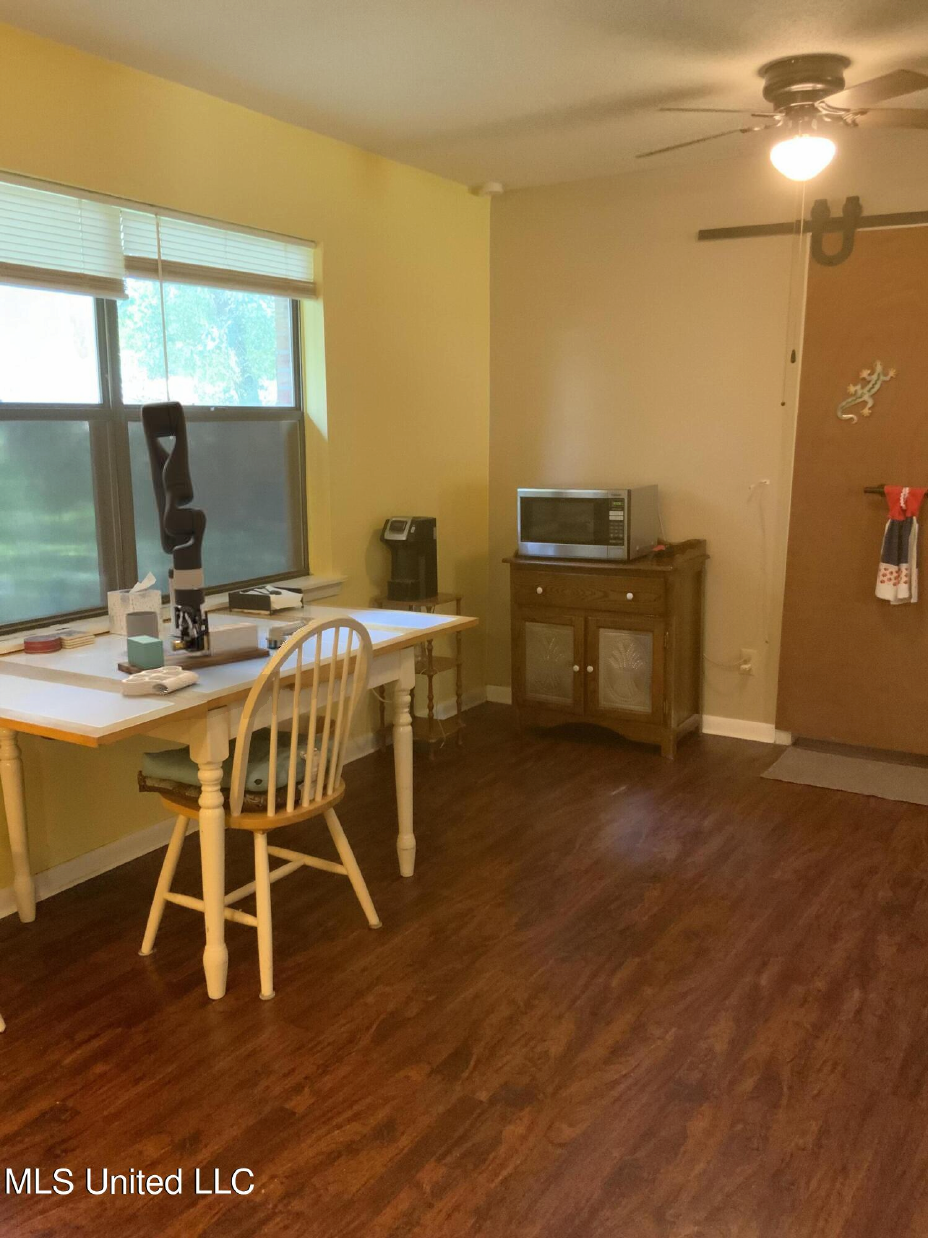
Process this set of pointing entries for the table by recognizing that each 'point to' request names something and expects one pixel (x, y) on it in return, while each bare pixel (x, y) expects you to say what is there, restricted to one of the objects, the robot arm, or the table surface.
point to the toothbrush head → (283, 632)
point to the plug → (188, 644)
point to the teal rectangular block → (145, 652)
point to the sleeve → (232, 639)
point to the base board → (198, 660)
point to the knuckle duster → (158, 681)
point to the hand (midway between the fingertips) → (193, 648)
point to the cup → (142, 624)
